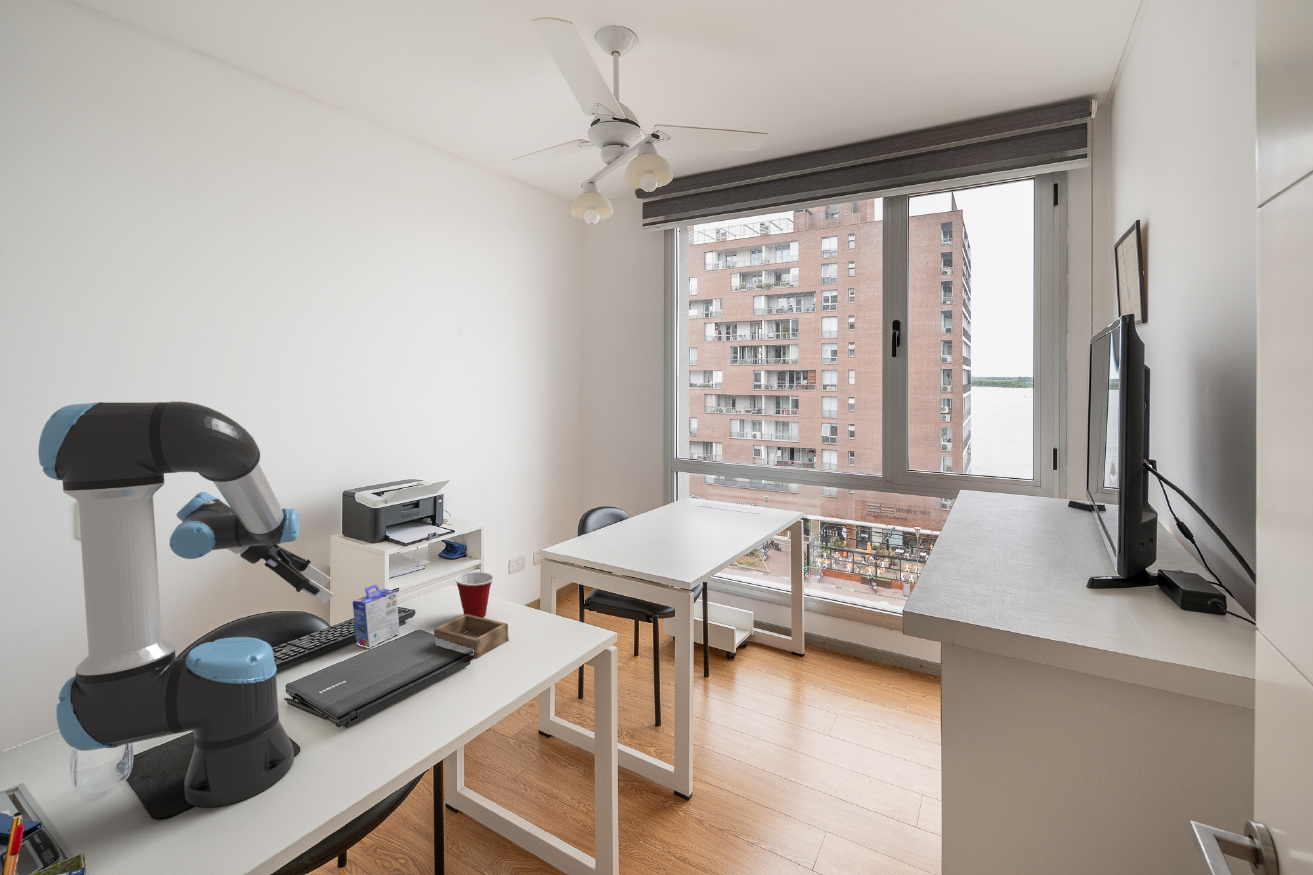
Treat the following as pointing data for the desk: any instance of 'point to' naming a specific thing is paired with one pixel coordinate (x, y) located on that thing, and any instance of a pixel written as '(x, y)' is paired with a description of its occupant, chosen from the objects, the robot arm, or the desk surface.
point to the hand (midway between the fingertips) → (328, 590)
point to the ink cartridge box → (376, 616)
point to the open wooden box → (488, 629)
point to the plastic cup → (474, 592)
